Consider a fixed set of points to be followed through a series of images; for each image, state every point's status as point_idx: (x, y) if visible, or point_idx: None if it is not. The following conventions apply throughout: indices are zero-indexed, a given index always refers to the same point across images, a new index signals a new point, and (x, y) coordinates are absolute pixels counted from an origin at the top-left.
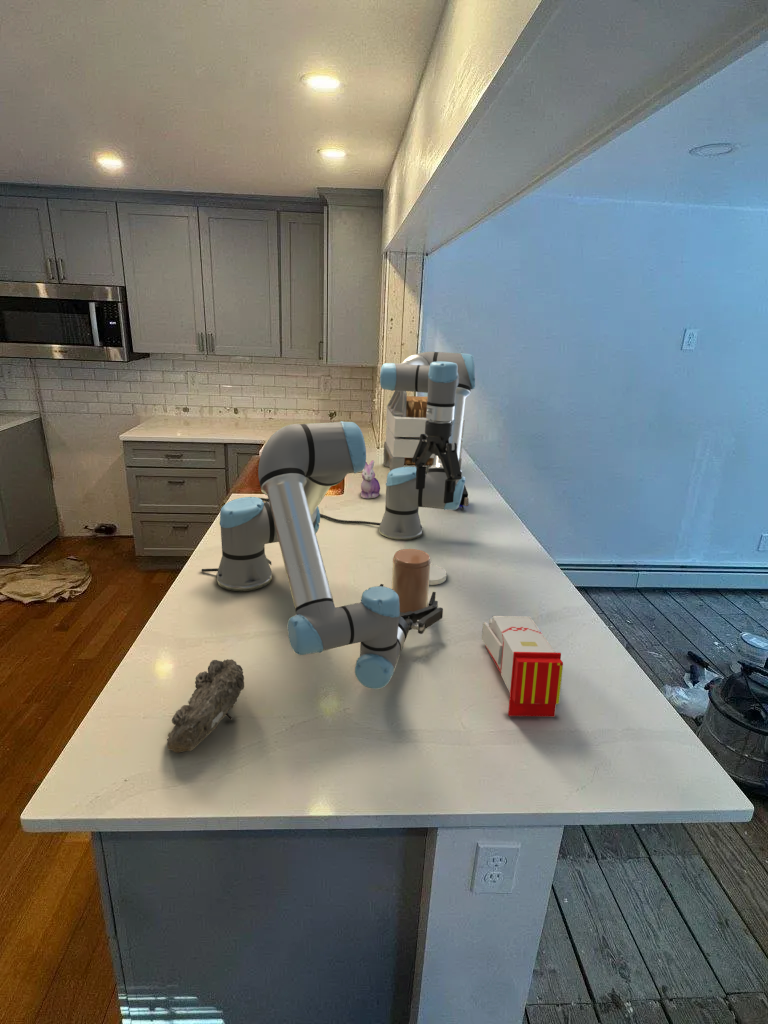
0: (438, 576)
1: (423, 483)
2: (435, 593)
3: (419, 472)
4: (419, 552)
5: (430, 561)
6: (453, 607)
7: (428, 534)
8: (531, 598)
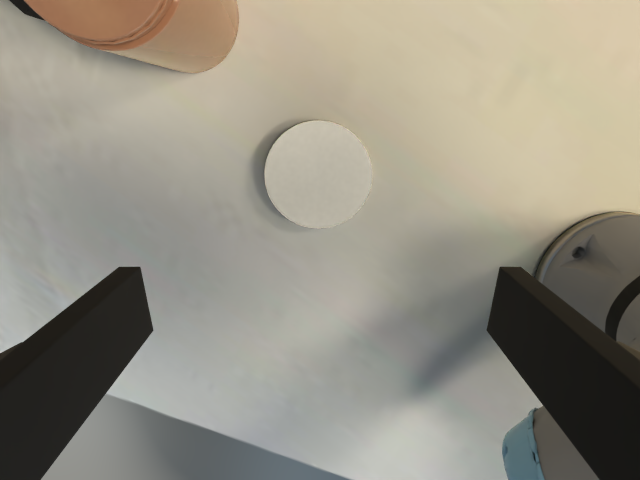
0: (279, 187)
1: (511, 344)
2: (22, 10)
3: (607, 382)
4: (109, 5)
5: (67, 35)
6: (138, 131)
7: None
8: None
